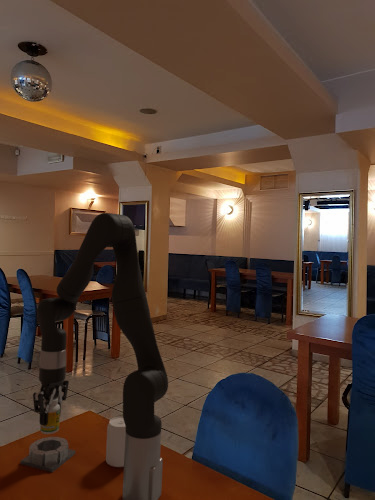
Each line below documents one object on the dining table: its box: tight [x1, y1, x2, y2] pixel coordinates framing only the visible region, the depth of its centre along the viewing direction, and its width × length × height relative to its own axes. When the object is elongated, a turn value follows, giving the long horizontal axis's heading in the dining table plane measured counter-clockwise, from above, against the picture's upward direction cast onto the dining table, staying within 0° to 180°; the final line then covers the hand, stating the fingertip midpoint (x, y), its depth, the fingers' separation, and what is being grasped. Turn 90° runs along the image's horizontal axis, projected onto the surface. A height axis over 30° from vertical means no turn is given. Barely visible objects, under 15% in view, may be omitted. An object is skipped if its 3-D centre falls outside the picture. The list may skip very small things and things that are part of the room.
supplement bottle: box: [40, 397, 61, 435], centre depth 119 cm, size 5×5×10 cm
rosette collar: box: [20, 436, 76, 473], centre depth 119 cm, size 11×11×4 cm
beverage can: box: [105, 416, 126, 468], centre depth 119 cm, size 8×8×12 cm
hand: (50, 420), depth 119 cm, fingers closed on supplement bottle, 5 cm apart
